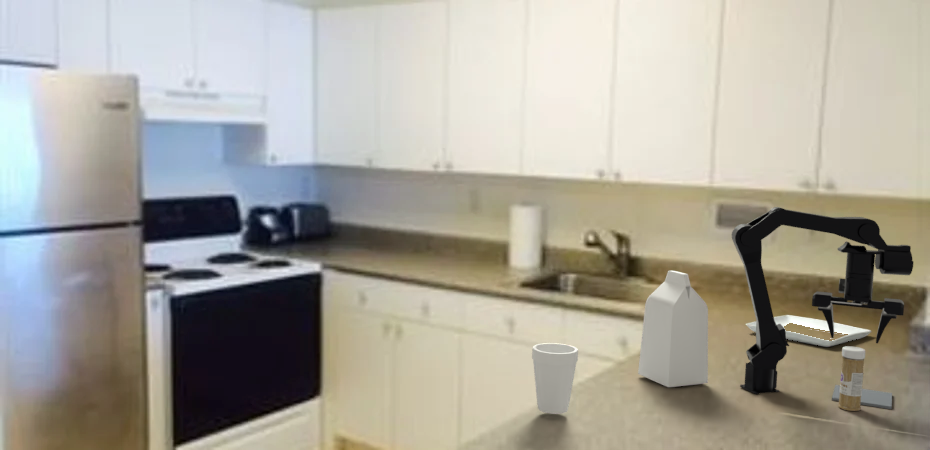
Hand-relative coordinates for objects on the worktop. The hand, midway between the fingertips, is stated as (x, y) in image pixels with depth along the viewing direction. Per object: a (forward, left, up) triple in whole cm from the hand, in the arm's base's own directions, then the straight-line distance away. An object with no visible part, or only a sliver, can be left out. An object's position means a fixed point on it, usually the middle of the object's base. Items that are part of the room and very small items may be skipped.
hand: (854, 340), depth 189 cm
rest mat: (+1, -2, -13) cm, 13 cm away
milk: (-34, +21, -13) cm, 42 cm away
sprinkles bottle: (-8, -8, -13) cm, 17 cm away
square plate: (+33, +54, -14) cm, 65 cm away
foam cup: (-72, +5, -13) cm, 73 cm away
